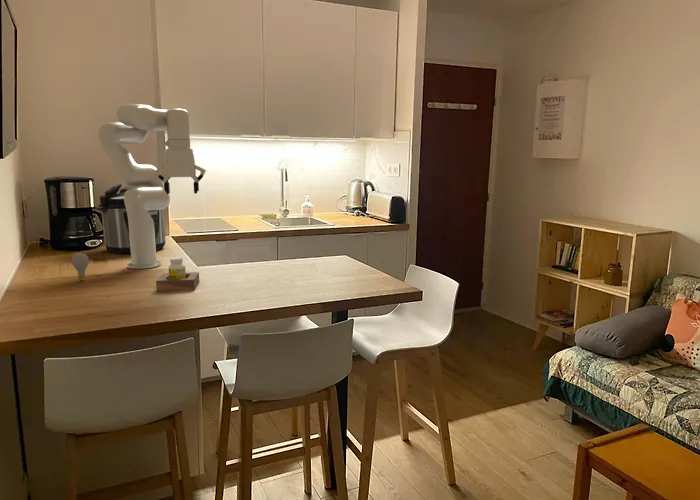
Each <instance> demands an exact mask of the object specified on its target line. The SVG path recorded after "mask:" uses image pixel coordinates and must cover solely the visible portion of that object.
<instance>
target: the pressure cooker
mask: <svg viewBox="0 0 700 500" xmlns="http://www.w3.org/2000/svg"><path fill="white" fill-rule="evenodd" d="M121 187H123V186H122V185H121V183H120V184H116V185H113V186H111V187H110V188H108V189H107V190H105V192H104V195H100V196H99V202H100V204H98V205H97V206H94V210H95V211H99V212H101V219H102V220H101V221H102V222H101V223H102V229H103V230H102V231H103V241H104V247H105V249H106V251H108V252H109V253H115V254H131V250H130V237H129V224H128V216H127V211H126V207H125V203H124V194H125V192H126V191H127V190H128V189H129V188H125V187H123V188H121ZM147 212H148V213H149V215H150V216H151V217H152V219H153V221H154V230H155V244H156V251H157V250H161V249H163V248H164V246H165V245H166V231H165V217H164V216H165V215H164V209H161V210H150V211H147Z"/></svg>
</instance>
